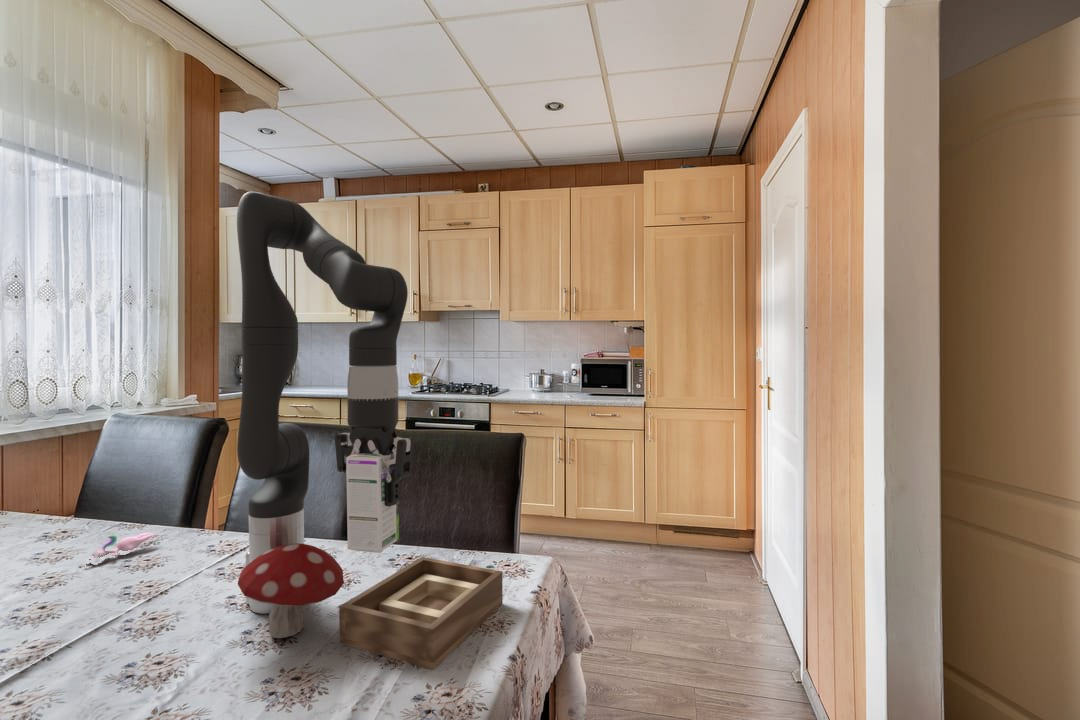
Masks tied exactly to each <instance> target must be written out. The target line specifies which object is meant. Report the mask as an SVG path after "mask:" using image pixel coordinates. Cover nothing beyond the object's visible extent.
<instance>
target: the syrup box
mask: <svg viewBox="0 0 1080 720" xmlns="http://www.w3.org/2000/svg"><path fill="white" fill-rule="evenodd" d="M395 453H396V451H395ZM383 458H384V460H385V461H388V460H391V458H392V456H391V454H390V455H385V456H383ZM381 459H382V457H379V456H375V455H373V454H370V453H360V454H354V455H351V456H348V457H346V456H345V461H346V462H345V463H346V472H347V475H346V520H347V521H346V524H347V525H346V526H347V531H346V533H347V537H346V538H347V549H348V550H350V551H356V552H365V553H373V554H374V553H378V554H381V553H382V552H383V551H384V550H386V549H387V548H389V547H390V546H391V545H393V544H395V543H396V542H398V541H399V539H400V516H399V511H400V510H399V506H400V505H399V501H398V502H397V504H395V505H393V506H390V507H389V506H385V496H384V482H386V480H385V478H384V474H383V468H382V466H381ZM389 468H390V466H389ZM390 470H391V468H390ZM391 473H392V471H391Z"/></svg>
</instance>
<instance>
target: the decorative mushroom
mask: <svg viewBox="0 0 1080 720" xmlns="http://www.w3.org/2000/svg"><path fill="white" fill-rule="evenodd" d="M343 571H344V569H343V568H342V567H341V565H340V563H338V561H337V560H336V559H335V558H334V557H333V556H332V555H331V553H329V552H327V551H325V550H324V549H321V548H319V547H317V546H314V545H312V544H311V545H310V544H306V543H304V544H289V545H283V546H280V547H277V548H274V549H272V550H269V551H267V552H265V553H263V554H261V555H260V556H258V557H257V558H256V559H254V560H253V561H252V562H250V563H249V564H248V565H247V566H246V565H245V566H244V567H243V568H242V570H241V572H240V573H239V578H238V581H237V585H238V588H239V589H240V591H241V593H242V594H243V596H244V597H245V598H246V597H248V598H251V599H253V600H256V601H258V602H261V603H267V604H272V608H271V612H270V613H269V616H268V634H269V635H270V637H272V638H276V639H284V638H288V637H292V636H295V635H296V634H298V633H299V632H300V631H301V630H302V629H303V617H302V615H303V614H302V608H301V607H304V606H309V605H313V604H317V603H322V602H323V601H326V600H328V599H329V598H332V597H334V596H335V595H336V594H337V593H339V590H340V589H341V588H342V587H343V586H344V572H343Z"/></svg>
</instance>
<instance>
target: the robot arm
mask: <svg viewBox="0 0 1080 720" xmlns="http://www.w3.org/2000/svg"><path fill="white" fill-rule="evenodd" d="M236 231H237V243H238V253H239V254H238V255H239V260H240V262H239V263H240V272H241V273H240V274H241V294H242V295H241V303H242V304H241V305H242V307H241V309H242V310H241V355H242V375H241V376H242V377H241V379H242V380H241V382H242V383H241V389H242V390H241V402H240V403H241V407H240V415H239V424H238V432H237V444H236V447H237V448H236V451H237V460H238V464H239V466H240V469H241V471H242V472H243V473H244V474H245V475H246V476H247V477H248V478H250V479H252V480H264V481H263V482H262V485H260V486H261V487H260V488H259V489H258V490H257V491H256V492H255V493H254V494H253V495H252V496H251V497H250V499H249V500H248V552H246V554H245V566H247V565H248V564H249V563H250V562H252V561H253V560H254V559H256V558H257V557H258V556H260V555H261V554H263V553H265V552H267V551H269V550H272V549H274V548H277V547H280V546H283V545H289V544H305V523H304V522H305V517H304V515H305V513H304V512H305V509H304V508H305V507H304V505H305V498H306V495H307V493H308V491H309V490H308V489H309V481H310V479H309V478H310V477H309V476H310V474H309V473H310V444H309V440H308V437H307V434H306V432H305V431H304V429H302V427H300V426H299V425H298V424H295V423H291V422H283V423H282V422H281V423H279V419H280V418H279V415H280V413H279V411H280V402H281V401H280V400H281V397H282V393H283V392H284V388H285V386H286V384H287V382H288V380H289V378H290V376H291V373H292V372H293V370H294V366H295V365H296V361H297V358H298V355H299V354H298V352H299V321H298V317H297V314H296V312H295V310H294V308H293V306H292V304H291V302H290V301H289V300H288V298H287V295H286V294H285V293H284V292H283V290H282V289H281V287H280V285H279V283H278V282H277V280H276V278H275V275H274V273H273V271H272V267H271V264H270V262H271V261H270V256H269V248H274V249H280V250H292V251H293V250H294V251H296V252H300V253H302V258H303V262H304V263H305V265H306V267H307V268H308V269H309V270H310V271H311V273H313V275H315V276H317V277H318V279H320V280H322V281H323V282H325V283H326V284H327V285H328V286H329V287H330V290H331V291H332V293H333V294H334V296H335V298H336V299H337V301H338V302H339V303H340V304H341V305H342V306H345V307H346V308H349V309H352V310H356V311H363V312H364V311H365V312H366V311H368V312H373V315H372V318H371V321H370V322H369V324H368V325H365V326H360V327H355V328H354V329H352V330H351V332H350V333H349V338H348V364H349V366H348V375H347V382H346V383H347V386H346V387H347V397H346V399H347V425H348V426H349V427H351V430H350V432H349V431H348V432H342V433H341V432H340V433H336V434H335V435H334V444H335V457H336V459H335V460H336V467H337V468H336V469H337V471H338V472H339V473H341V472H343V473H344V474H345V476H347V472H346V462H345V461H346V459H345V458H346V457H348V456H351V455H354V454H360V453H370V454H373V455H375V456H379V457H382V459H381V466H382V468H383V474H384V478H385V480H386V482H384V496H385V506H389V507H390V506H393V505H395V504H397V502H398V501H399V500H400V499H401V498H400V497H401V496H400V487H401V486H400V485H401V484H400V482H401V480H402V479H403V478H407V477H410V476H411V475H412V468H413V467H412V466H413V456H414V445H415V444H414V443H415V440H414V438H413V437H406V438H405V437H400V436H398V433H397V431H396V430H397V429H396V427H397V426H398V423H399V377H398V375H399V374H398V368H397V367H398V365H397V364H398V363H397V361H398V359H397V356H398V355H397V352H398V351H397V350H398V349H397V341H398V337H399V336H398V335H399V332H400V328H401V324H402V320H403V317H404V312H405V310H406V307H407V301H408V293H409V292H408V286H407V285H408V284H407V282H406V280H405V277H404V275H403V274H402V273H401V272H400V271H398V270H397V269H395V268H392V267H388V266H387V267H385V266H380V265H379V266H378V265H372V264H367V262H366V261H365V259H364V257H363V256H362V254H360V253H359V252H358V251H357V250H356V249H354V248H352V247H351V246H349V245H348V244H346V243H345V242H342V241H341V240H339V239H338V238H336V237H335V236H333V235H332V234H331V233H329V232H328V231H327V230H326V229H325V228H324V227H323V226H322V225H321V224H320V223H319V222H318V221H317V220H316V219H315V217H313V216H312V214H311V213H310V212H308V210H306V209H305V207H304V206H302V205H300V203H298V202H296V201H293V200H291V199H287V198H283V197H279V196H274V195H271V194H268V193H266V194H265V193H262V192H256V191H248V192H246V193H244V194H243V195H242V196H241V197H240V200H239V202H238V205H237V211H236ZM395 451H396V453H395ZM390 454H391V456H392V458H391V460H388V461H385V460H384V458H383V456H385V455H390ZM389 466H390V468H391V470H390V468H389ZM391 471H392V473H391ZM245 598H246V600H245V602H246V605H247V604H249V605H248V606H249V609H250V611H251V610H252V611H251V612H253V613H256V614H264V615H265V614H267V615H268V614H270V612H271V608H272V604H267V603H261V602H258V601H256V600H253V599H251V598H248V597H246V596H245Z"/></svg>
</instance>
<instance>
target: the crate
mask: <svg viewBox="0 0 1080 720" xmlns="http://www.w3.org/2000/svg"><path fill="white" fill-rule="evenodd" d="M502 605H503V571H501V570H495V569H490V568H485V567H479V566H475V565H474V566H473V565H468V564H462V563H459V562H452V561H446V560H441V559H437V558H430V557H425V556H421V557H419V558H418V559H416V560H415V561H412V562H411V563H408V565H405V566H404V567H403V568H401V569H399V570H398V571H396V572H394V573H392V574H391V575H389V576H388V577H386V578H384V579H382V580H381V581H379V582H377V583H375V584H374V585H372V586H370V587H369V588H368V589H365V590H364V591H363V592H360V593H359V594H357V595H356V596H354V597H353V598H351V599H349V600H347V601H346V602H344V603H342V604H340V605H339V607H338V609H339V610H338V611H339V612H338V614H339V615H338V617H339V618H338V620H339V621H338V623H339V625H338V627H339V628H338V629H339V631H338V632H339V644H341V645H345V646H349V647H351V648H355V649H359V650H362V651H365V652H369V653H371V654H376V655H379V656H382V657H386V658H391V659H393V660H397V661H401V662H403V663H408V664H411V665H415V666H417V667H422V668H425V669H429V670H432V671H434V670H435V669H436V668H437V667H438V666H439V665H441V663H442V662H444V660H445V659H446V658H448V656H449V655H451V653H453V652H454V651H455V650H456V649H457V648H458V647H459V646H460V645H461V644H462V643H463V642H464V641H465V640H466V639H467V638H469V636H471V634H473V633H474V632H475V631H476V630H477V629H478V628H479V627H480V626H481V625H482V624H483V623H484V622H485V621H487V619H488V618H490V617H491V615H492V614H494V613H495V612H496V611H497V610H498V609H499V608H500V607H501V606H502Z"/></svg>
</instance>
